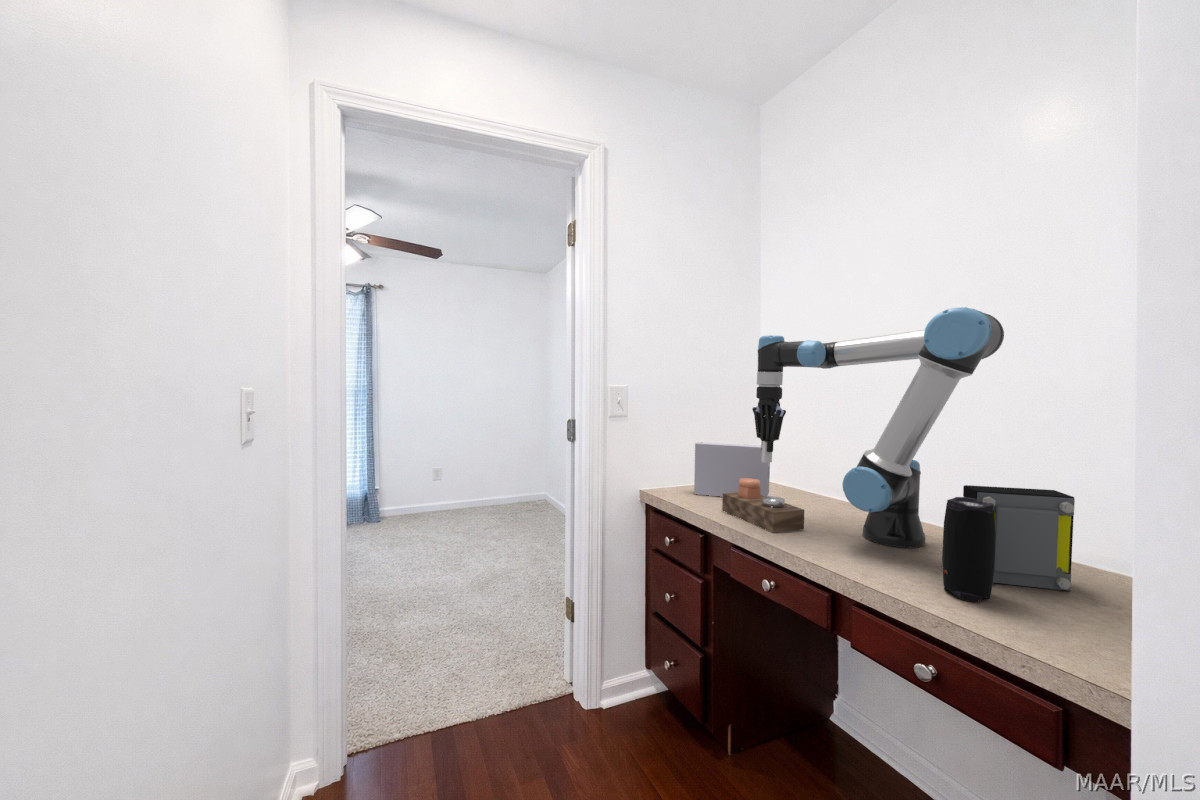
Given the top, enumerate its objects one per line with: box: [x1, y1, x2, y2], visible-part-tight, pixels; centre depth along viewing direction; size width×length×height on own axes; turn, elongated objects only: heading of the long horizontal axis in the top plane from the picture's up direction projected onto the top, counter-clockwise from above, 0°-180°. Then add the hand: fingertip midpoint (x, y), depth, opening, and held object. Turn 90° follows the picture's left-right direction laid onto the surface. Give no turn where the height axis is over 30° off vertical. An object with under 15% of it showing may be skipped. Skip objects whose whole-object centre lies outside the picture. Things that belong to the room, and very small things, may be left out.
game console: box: [693, 441, 771, 498], centre depth 188 cm, size 6×27×20 cm, turn 67°
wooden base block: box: [721, 492, 805, 534], centre depth 157 cm, size 26×11×6 cm, turn 19°
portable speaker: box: [941, 496, 996, 603], centre depth 102 cm, size 9×9×20 cm
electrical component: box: [962, 484, 1076, 592], centre depth 109 cm, size 18×10×20 cm, turn 73°
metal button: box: [762, 495, 786, 508], centre depth 151 cm, size 6×6×6 cm
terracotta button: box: [738, 478, 761, 499], centre depth 162 cm, size 6×6×6 cm
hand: (766, 461), depth 153 cm, fingers closed
